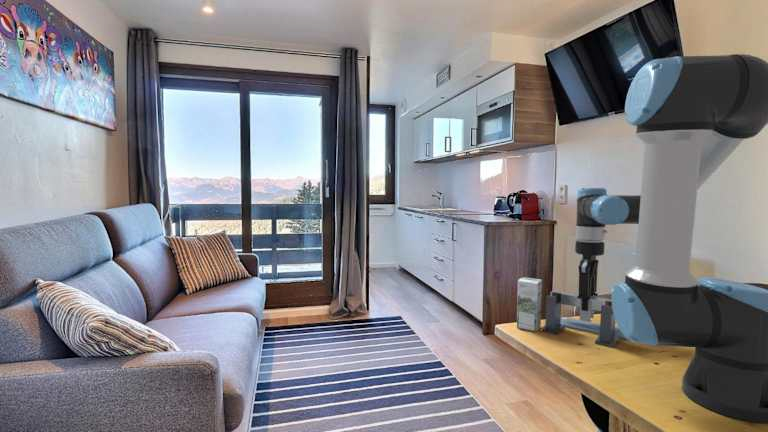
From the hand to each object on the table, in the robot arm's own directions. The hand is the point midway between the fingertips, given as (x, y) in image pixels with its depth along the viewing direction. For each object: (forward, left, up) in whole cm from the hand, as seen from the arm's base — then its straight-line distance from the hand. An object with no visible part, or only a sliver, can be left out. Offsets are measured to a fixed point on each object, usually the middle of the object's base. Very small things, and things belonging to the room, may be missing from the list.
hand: (586, 318), depth 117 cm
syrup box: (-12, +13, -3) cm, 18 cm away
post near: (-9, -7, -2) cm, 11 cm away
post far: (-9, +7, -2) cm, 11 cm away
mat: (0, 0, -2) cm, 2 cm away
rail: (0, 0, +4) cm, 4 cm away
